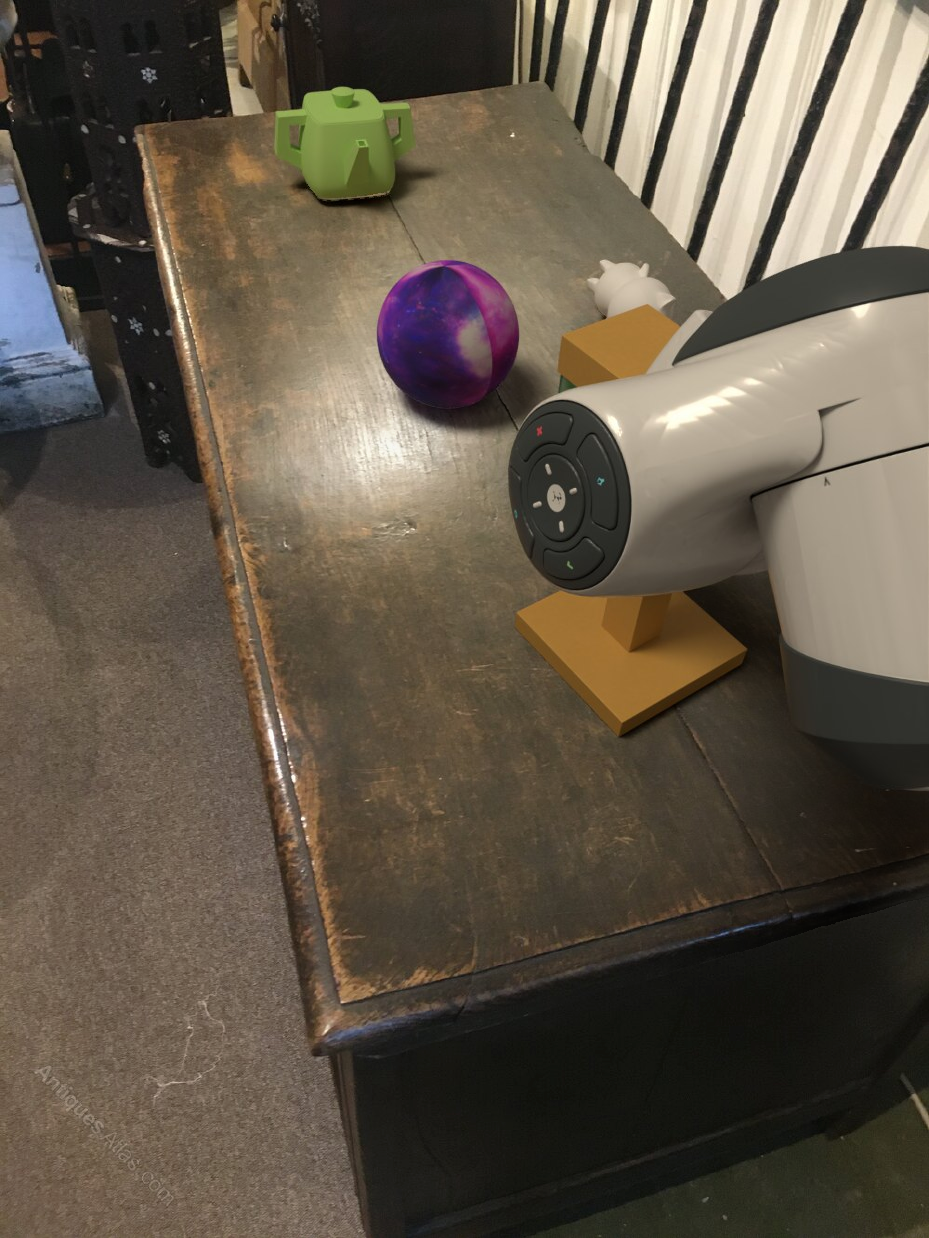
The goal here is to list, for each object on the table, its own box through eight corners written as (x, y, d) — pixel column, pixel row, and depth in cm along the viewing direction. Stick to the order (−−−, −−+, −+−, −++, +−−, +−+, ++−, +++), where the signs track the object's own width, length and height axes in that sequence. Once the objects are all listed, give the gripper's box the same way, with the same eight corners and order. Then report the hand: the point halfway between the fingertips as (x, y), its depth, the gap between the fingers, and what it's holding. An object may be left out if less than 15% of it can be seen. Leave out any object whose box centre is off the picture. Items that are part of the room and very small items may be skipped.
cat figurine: (609, 234, 115) (656, 281, 107) (667, 270, 121) (716, 316, 113) (566, 298, 119) (609, 347, 111) (625, 329, 125) (669, 378, 117)
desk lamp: (742, 664, 83) (845, 401, 63) (618, 737, 78) (689, 475, 58) (606, 541, 93) (659, 280, 73) (487, 599, 87) (509, 333, 67)
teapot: (433, 214, 137) (435, 117, 127) (291, 228, 132) (282, 128, 123) (402, 159, 148) (401, 66, 139) (271, 170, 144) (261, 75, 134)
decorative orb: (452, 343, 115) (457, 220, 104) (541, 402, 108) (556, 276, 97) (351, 389, 108) (344, 262, 97) (438, 455, 101) (441, 326, 90)
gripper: (984, 594, 40) (1074, 556, 50) (677, 286, 48) (806, 305, 57) (874, 685, 44) (977, 634, 54) (606, 386, 52) (738, 389, 61)
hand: (886, 462), depth 56 cm, fingers open, 6 cm apart
